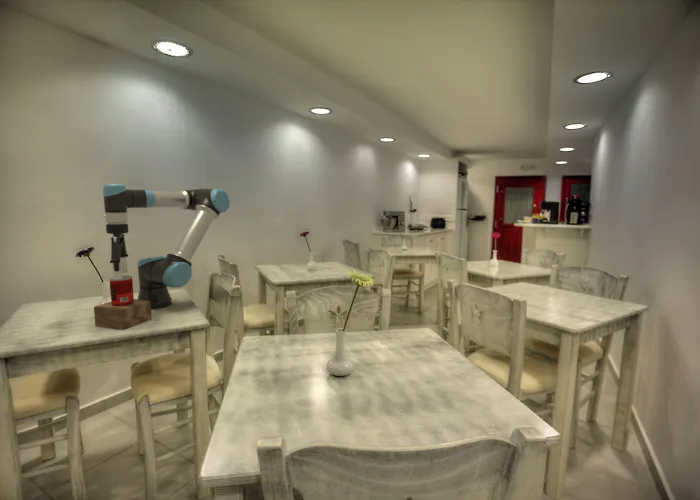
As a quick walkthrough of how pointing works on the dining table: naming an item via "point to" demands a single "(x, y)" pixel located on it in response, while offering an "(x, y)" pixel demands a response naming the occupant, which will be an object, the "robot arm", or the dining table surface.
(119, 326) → the walnut block
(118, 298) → the canned food
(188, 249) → the robot arm
